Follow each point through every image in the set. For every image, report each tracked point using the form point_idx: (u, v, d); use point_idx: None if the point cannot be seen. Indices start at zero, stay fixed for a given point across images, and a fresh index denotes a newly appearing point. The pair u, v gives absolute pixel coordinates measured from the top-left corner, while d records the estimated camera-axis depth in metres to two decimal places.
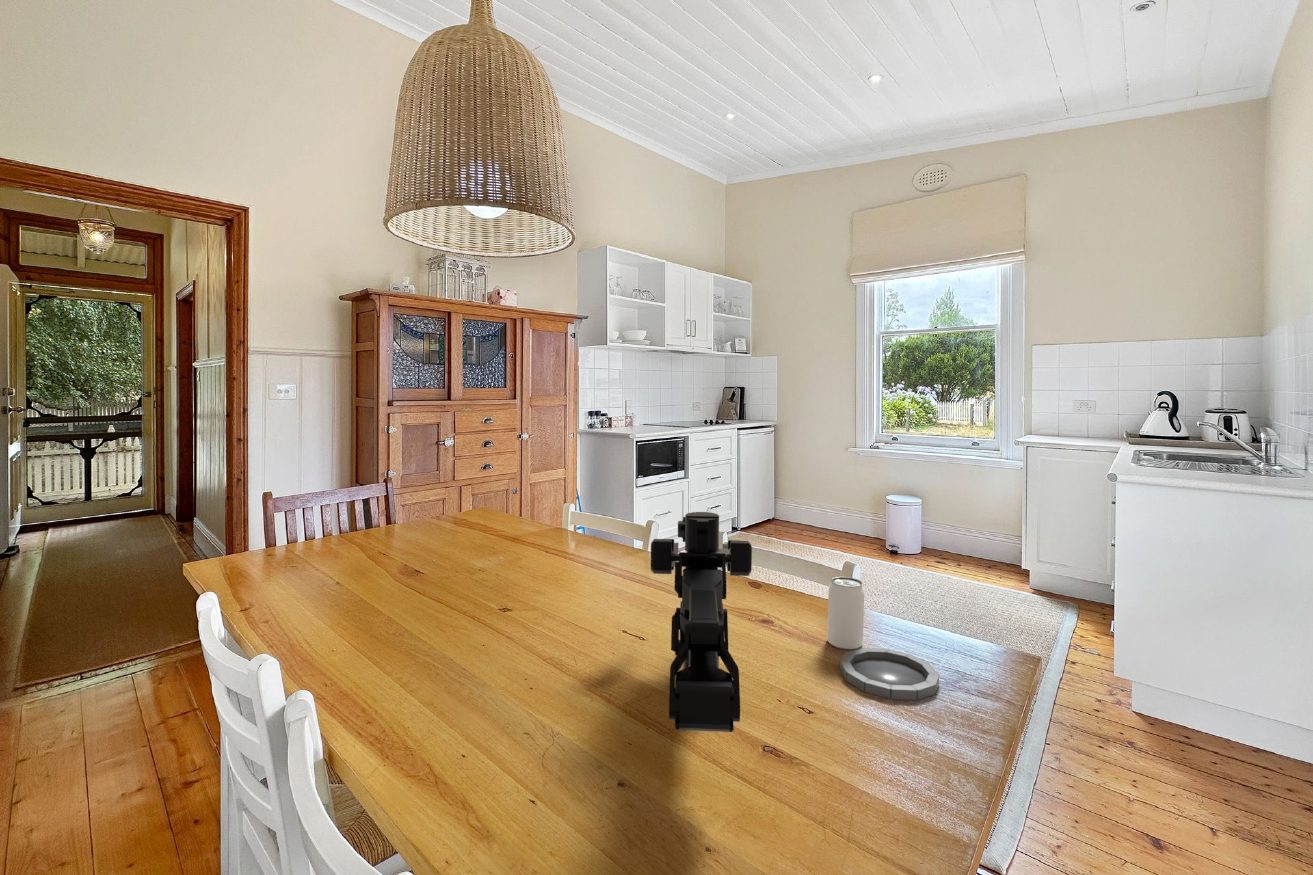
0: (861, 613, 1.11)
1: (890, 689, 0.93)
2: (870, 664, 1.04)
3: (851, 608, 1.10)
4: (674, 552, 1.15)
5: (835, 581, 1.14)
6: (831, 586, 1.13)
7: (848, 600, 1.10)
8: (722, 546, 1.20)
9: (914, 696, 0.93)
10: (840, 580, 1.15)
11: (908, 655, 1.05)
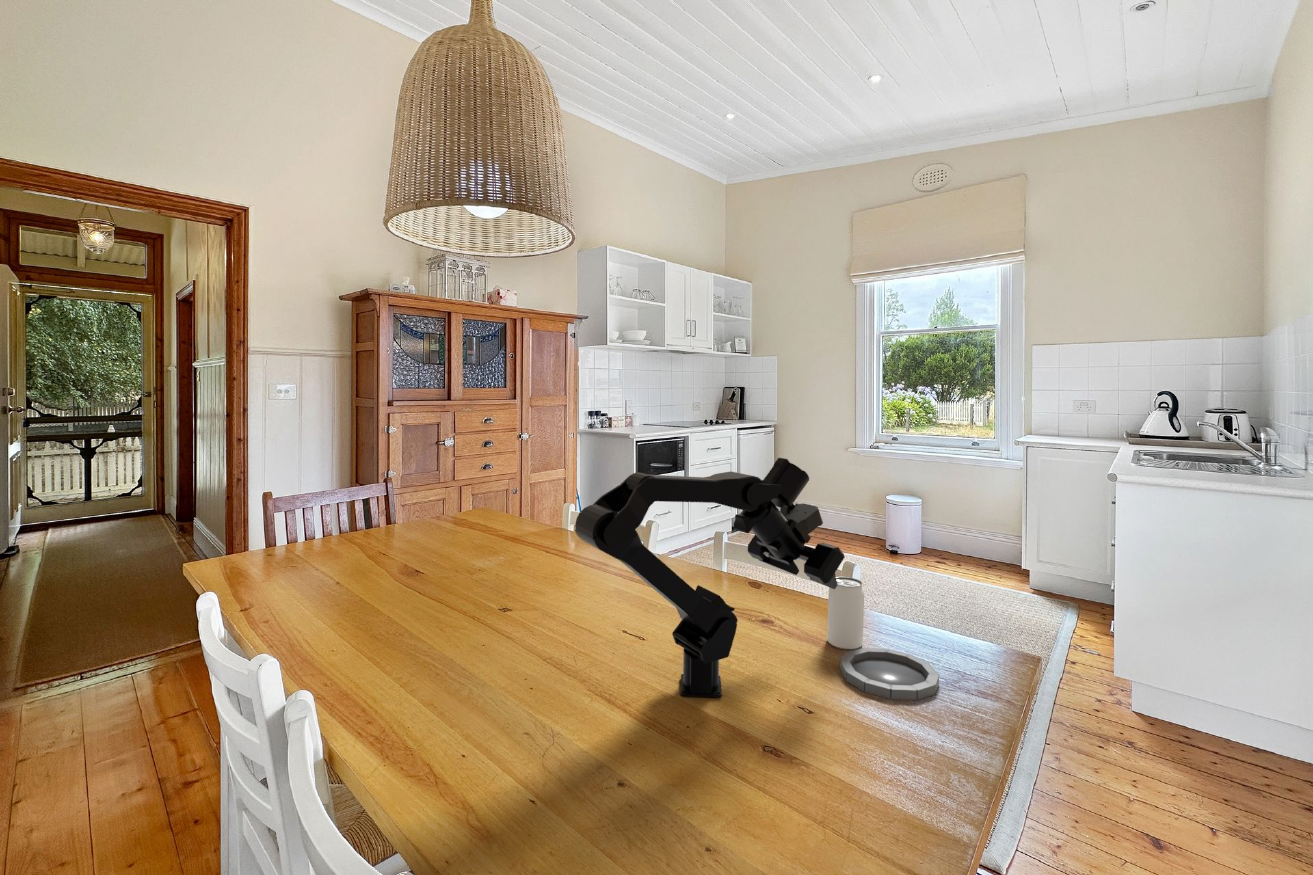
0: (861, 613, 1.11)
1: (890, 689, 0.93)
2: (870, 664, 1.04)
3: (851, 608, 1.10)
4: None
5: None
6: None
7: (848, 600, 1.10)
8: None
9: (914, 696, 0.93)
10: (840, 580, 1.15)
11: (908, 655, 1.05)
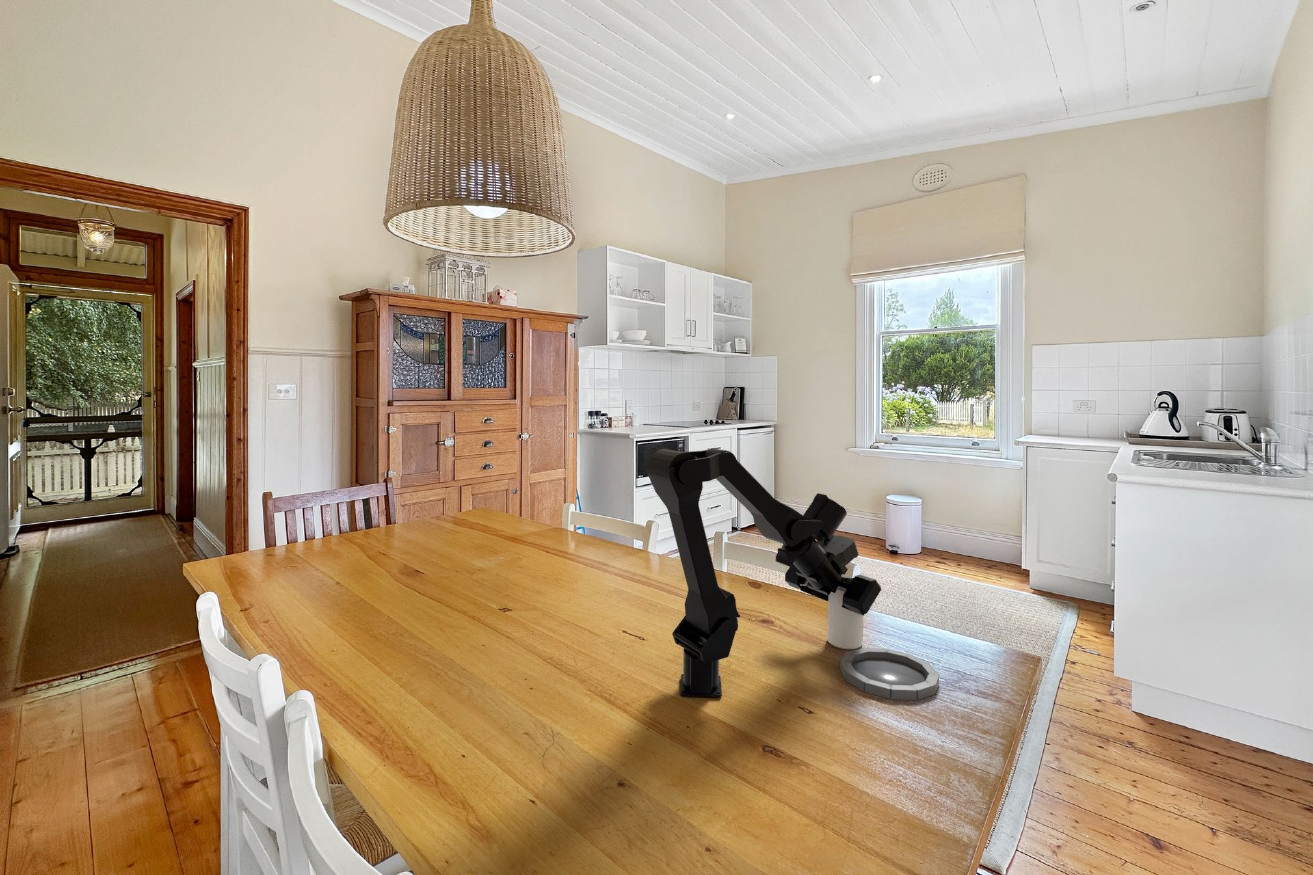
0: None
1: (890, 689, 0.93)
2: (870, 664, 1.04)
3: None
4: None
5: None
6: None
7: None
8: None
9: (914, 696, 0.93)
10: None
11: (908, 655, 1.05)
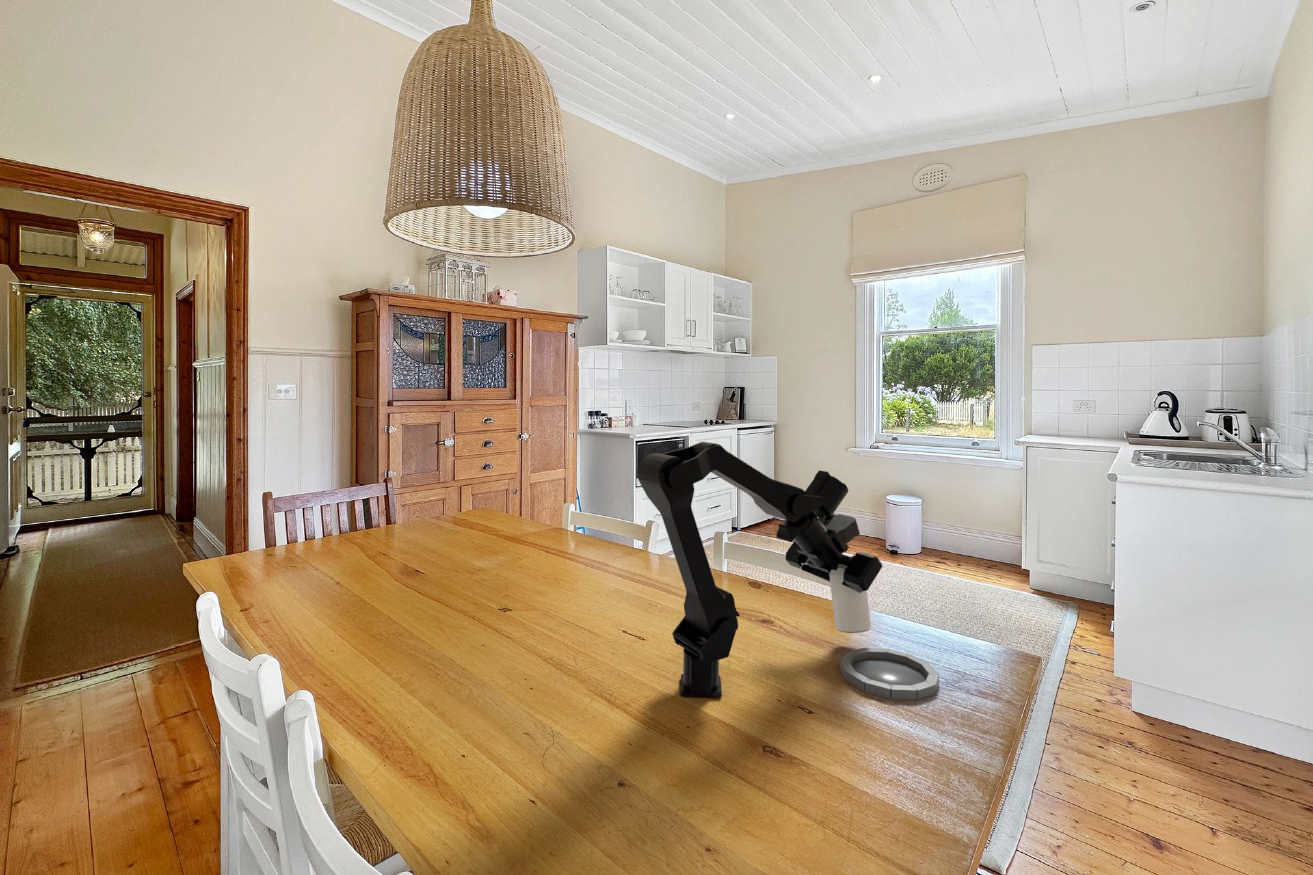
0: (864, 593, 1.10)
1: (890, 689, 0.93)
2: (870, 664, 1.04)
3: None
4: None
5: None
6: (831, 570, 1.13)
7: None
8: None
9: (914, 696, 0.93)
10: None
11: (908, 655, 1.05)
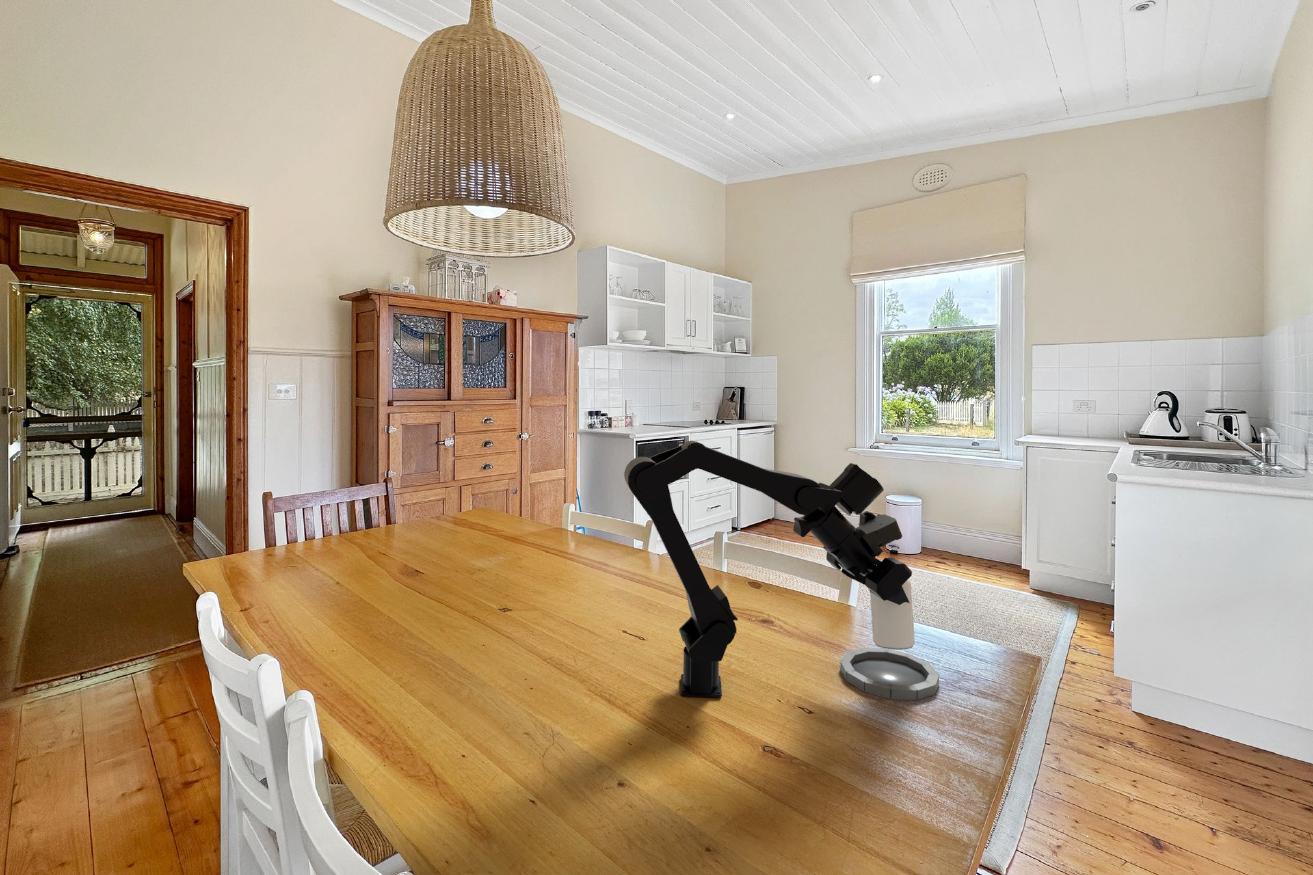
0: (905, 606, 0.97)
1: (890, 689, 0.93)
2: (870, 664, 1.04)
3: None
4: None
5: None
6: None
7: None
8: None
9: (914, 696, 0.93)
10: None
11: (908, 655, 1.05)
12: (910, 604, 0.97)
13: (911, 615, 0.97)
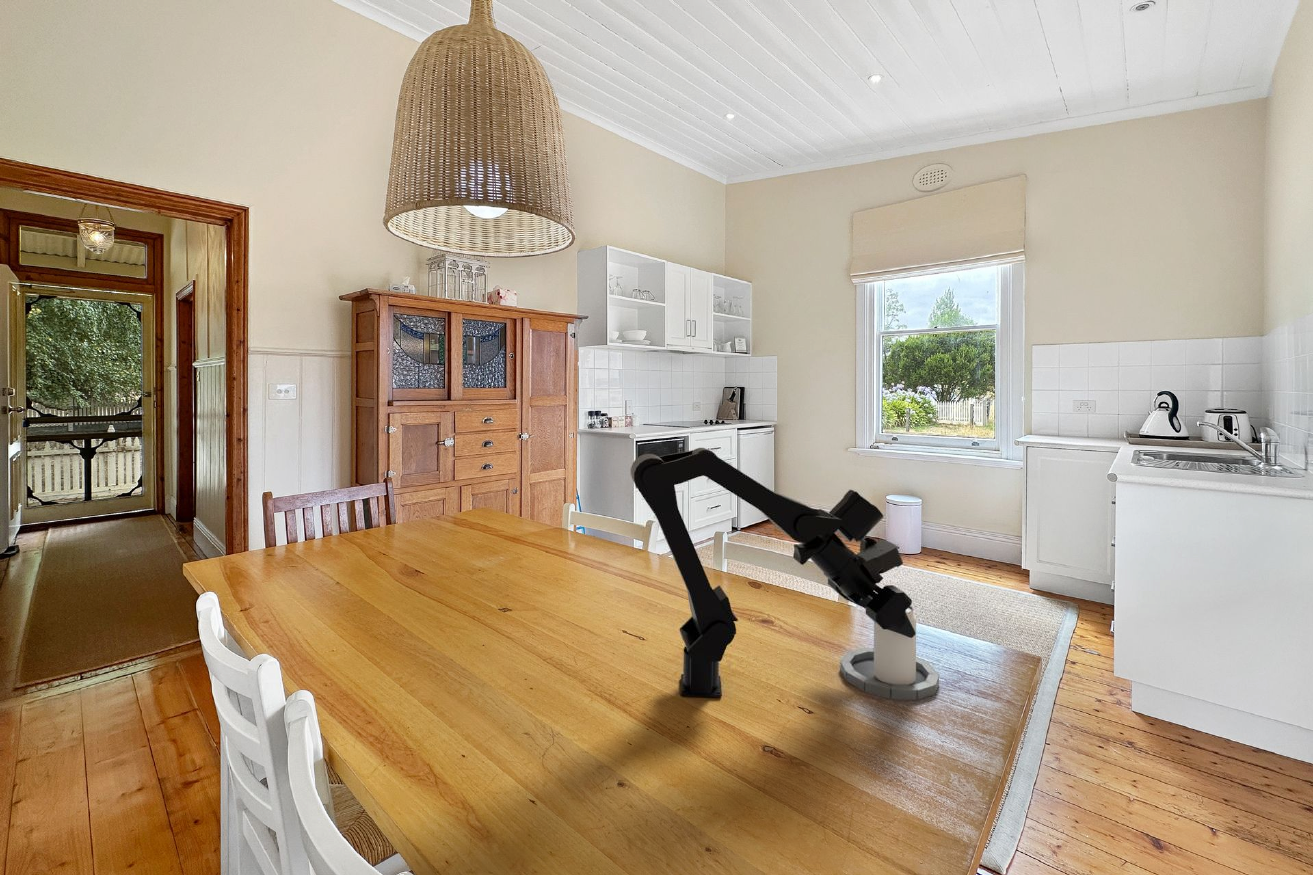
0: (908, 645, 0.96)
1: (890, 689, 0.93)
2: (870, 664, 1.04)
3: (893, 638, 0.96)
4: None
5: None
6: None
7: None
8: None
9: (914, 696, 0.93)
10: None
11: None
12: (914, 642, 0.96)
13: (914, 653, 0.96)
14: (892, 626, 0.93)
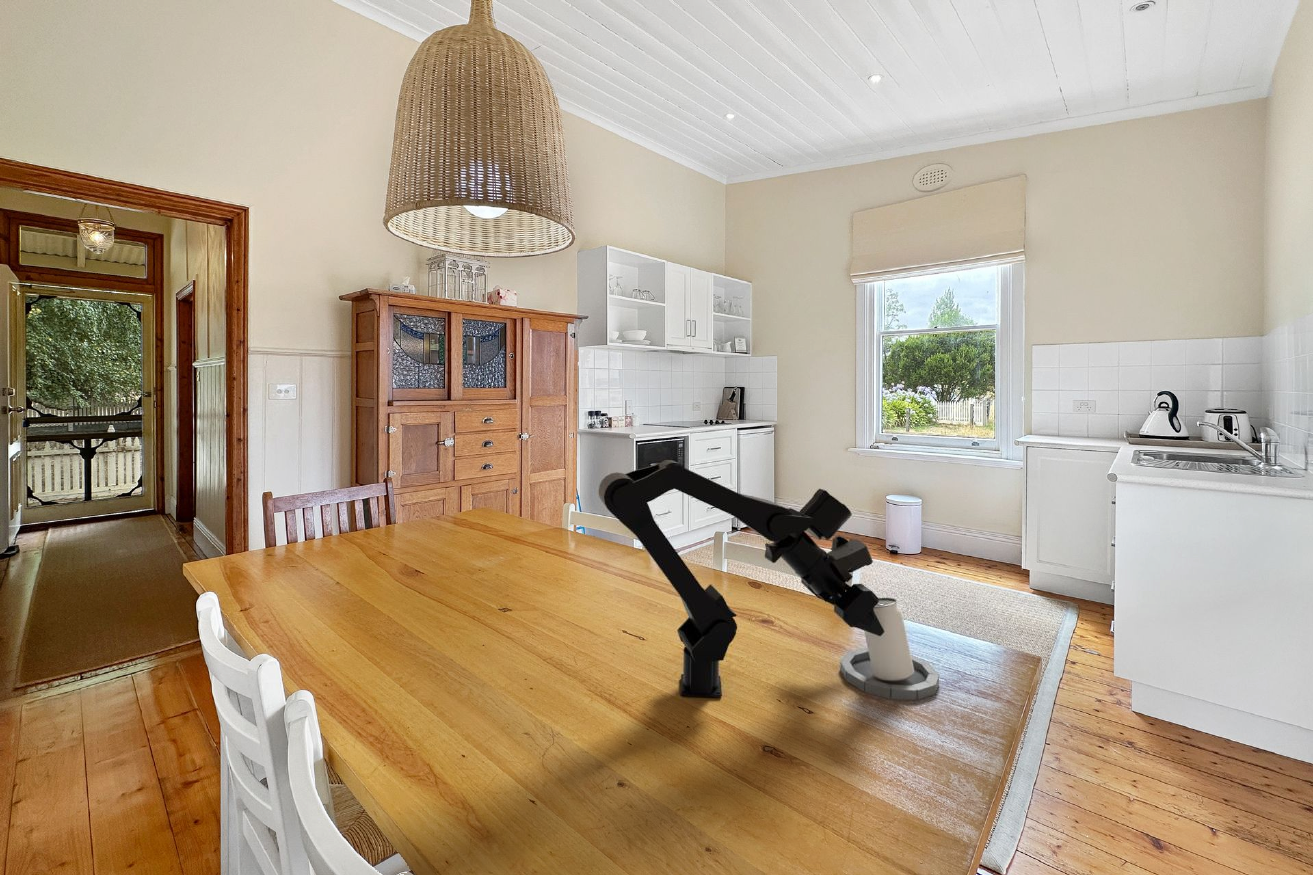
0: (898, 637, 0.96)
1: (890, 689, 0.93)
2: (870, 664, 1.04)
3: None
4: None
5: None
6: None
7: None
8: None
9: (914, 696, 0.93)
10: None
11: None
12: (903, 634, 0.97)
13: (906, 644, 0.97)
14: (860, 624, 0.94)
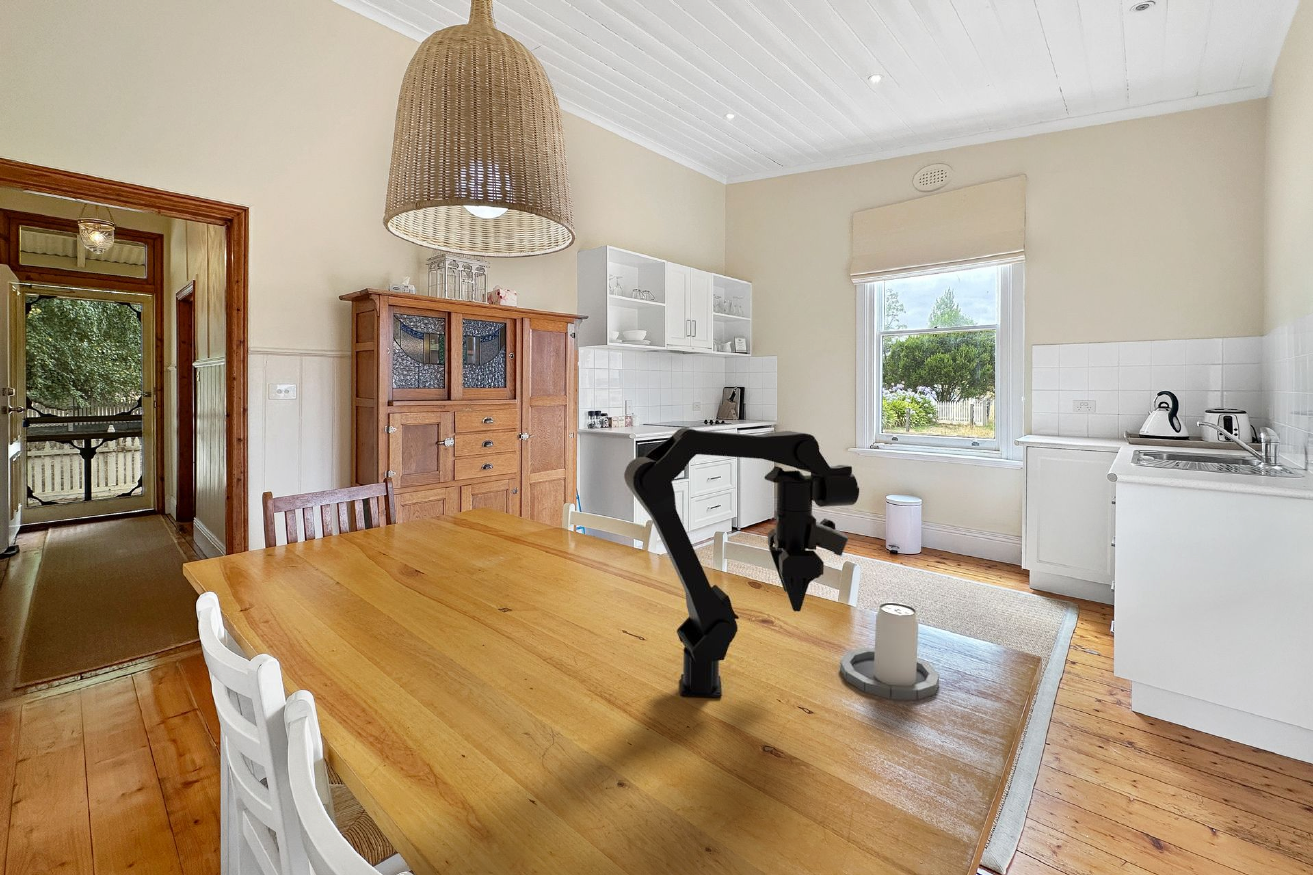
0: (909, 647, 0.95)
1: (890, 689, 0.93)
2: (870, 664, 1.04)
3: (895, 640, 0.95)
4: None
5: (886, 606, 1.00)
6: (878, 611, 0.99)
7: (891, 629, 0.96)
8: None
9: (914, 696, 0.93)
10: (894, 606, 1.00)
11: None
12: (915, 644, 0.96)
13: (915, 655, 0.96)
14: (789, 584, 0.93)
